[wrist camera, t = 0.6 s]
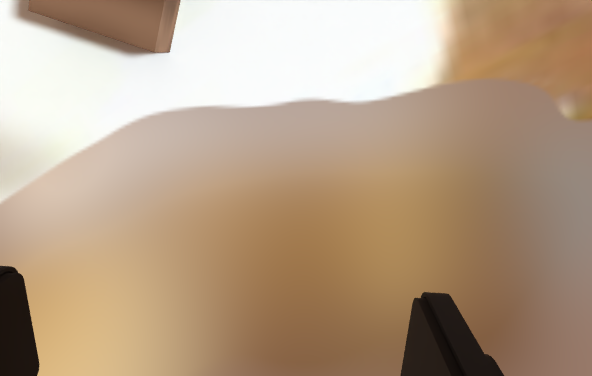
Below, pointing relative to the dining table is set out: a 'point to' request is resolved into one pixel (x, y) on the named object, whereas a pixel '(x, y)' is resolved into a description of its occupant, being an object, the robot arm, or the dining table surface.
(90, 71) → the dining table surface
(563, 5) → the dining table surface
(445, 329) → the robot arm
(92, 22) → the walnut block
